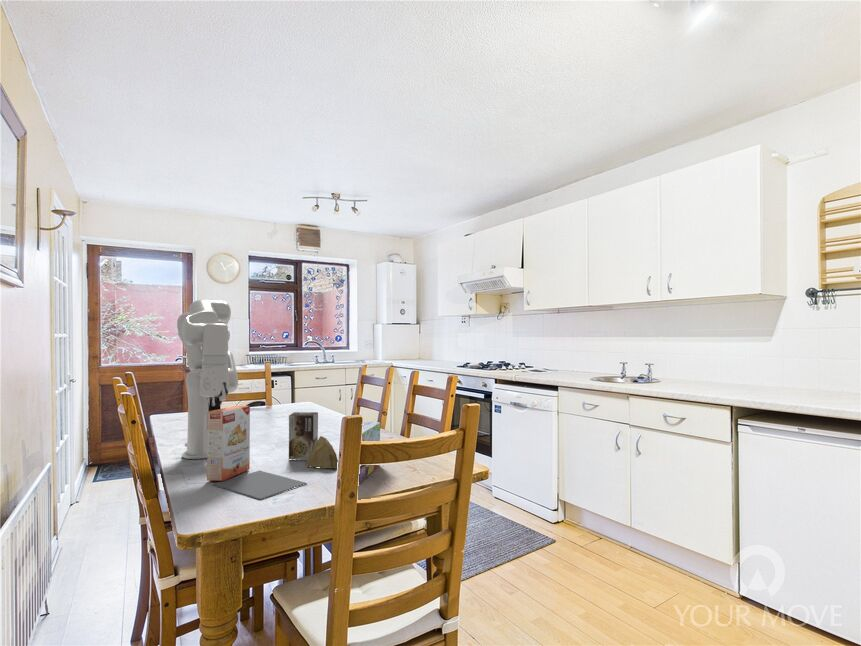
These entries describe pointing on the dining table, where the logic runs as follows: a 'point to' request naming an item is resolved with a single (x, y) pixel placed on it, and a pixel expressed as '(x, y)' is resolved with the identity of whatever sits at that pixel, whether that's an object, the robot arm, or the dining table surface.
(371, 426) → the snack box
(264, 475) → the mat
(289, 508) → the dining table surface
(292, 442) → the coffee box
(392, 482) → the dining table surface
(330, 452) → the rock
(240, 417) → the cracker box
